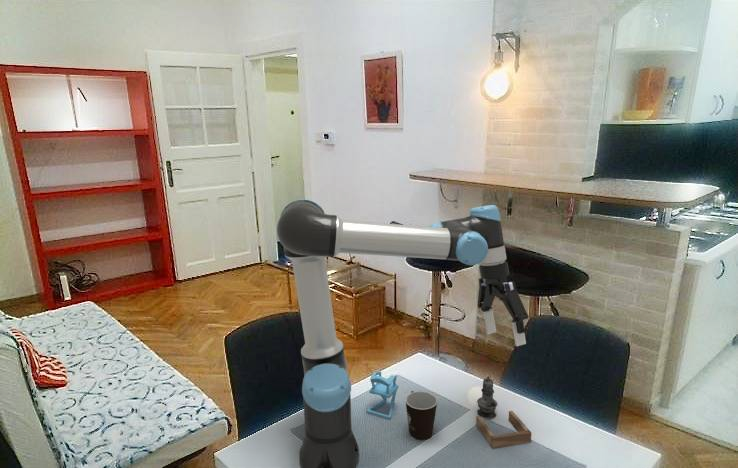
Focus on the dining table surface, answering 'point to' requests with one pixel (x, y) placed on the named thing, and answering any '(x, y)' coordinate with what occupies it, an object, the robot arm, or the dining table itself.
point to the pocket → (505, 439)
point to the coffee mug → (421, 414)
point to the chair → (383, 392)
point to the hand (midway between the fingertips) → (505, 338)
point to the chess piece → (487, 400)
